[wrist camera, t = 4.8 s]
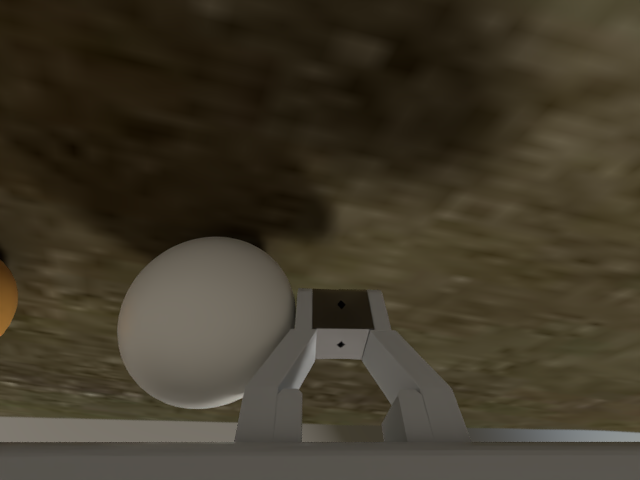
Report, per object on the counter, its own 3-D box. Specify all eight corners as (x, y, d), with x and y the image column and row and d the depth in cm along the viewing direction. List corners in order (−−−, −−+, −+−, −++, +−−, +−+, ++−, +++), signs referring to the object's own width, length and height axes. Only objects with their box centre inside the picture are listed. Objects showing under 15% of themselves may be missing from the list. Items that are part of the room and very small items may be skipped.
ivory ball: (315, 247, 7) (57, 367, 5) (334, 374, 10) (177, 492, 7) (241, 199, 11) (83, 249, 9) (269, 298, 14) (154, 358, 12)
